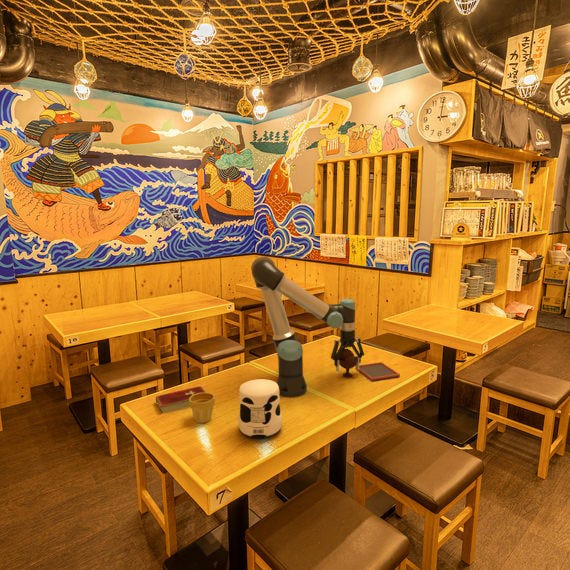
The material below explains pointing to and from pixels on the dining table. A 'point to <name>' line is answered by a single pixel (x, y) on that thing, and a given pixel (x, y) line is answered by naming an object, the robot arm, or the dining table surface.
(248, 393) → the milk container
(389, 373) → the serving tray
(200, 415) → the plant pot
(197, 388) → the hardcover book
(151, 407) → the dining table surface
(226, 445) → the dining table surface
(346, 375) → the ice cream bowl
